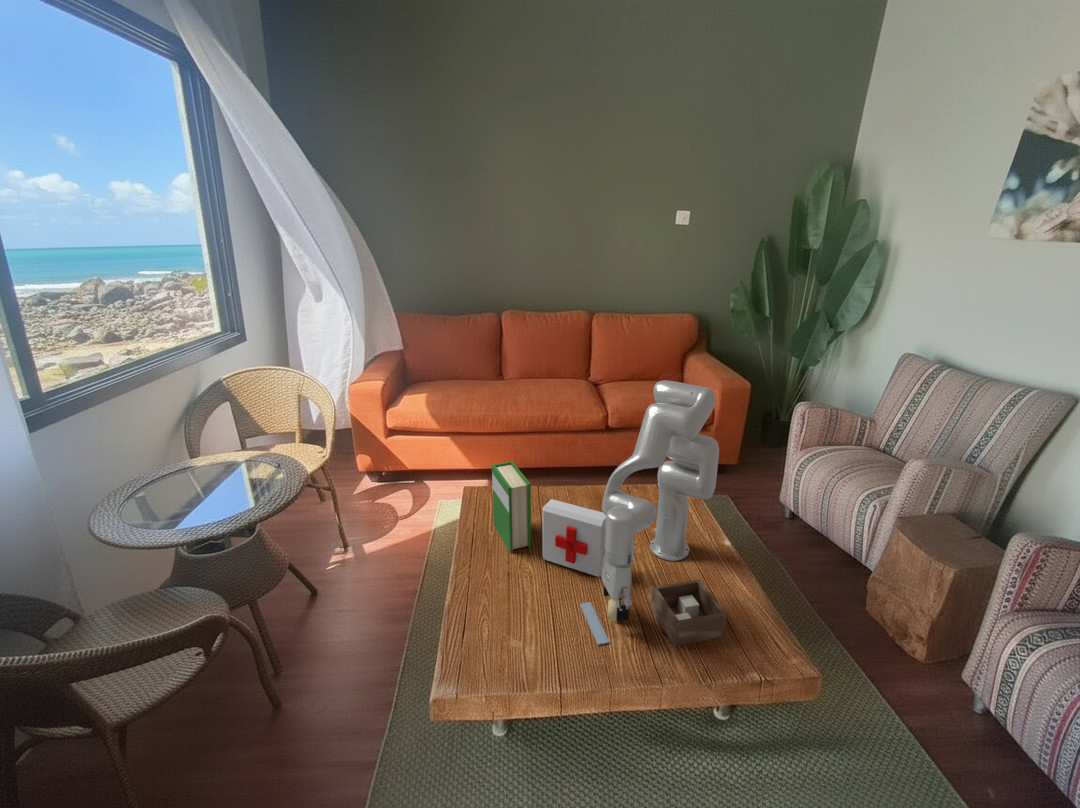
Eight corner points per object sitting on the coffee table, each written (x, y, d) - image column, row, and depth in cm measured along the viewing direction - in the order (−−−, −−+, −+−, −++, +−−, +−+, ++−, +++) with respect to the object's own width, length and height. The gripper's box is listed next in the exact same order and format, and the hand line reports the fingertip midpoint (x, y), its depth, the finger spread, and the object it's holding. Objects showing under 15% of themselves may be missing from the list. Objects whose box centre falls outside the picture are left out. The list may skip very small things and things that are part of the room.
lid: (580, 607, 145) (580, 589, 143) (629, 598, 148) (630, 581, 146) (597, 647, 131) (598, 628, 129) (651, 637, 134) (653, 618, 132)
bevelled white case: (538, 563, 163) (538, 508, 156) (550, 549, 170) (550, 496, 163) (600, 583, 154) (603, 525, 147) (610, 568, 160) (613, 512, 154)
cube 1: (677, 608, 142) (678, 597, 141) (690, 606, 143) (691, 594, 142) (684, 619, 138) (685, 607, 137) (697, 616, 139) (699, 604, 138)
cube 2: (672, 627, 136) (673, 615, 134) (686, 624, 136) (687, 612, 135) (679, 638, 132) (681, 626, 131) (693, 635, 133) (695, 623, 131)
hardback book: (531, 547, 171) (530, 483, 163) (510, 553, 168) (508, 488, 160) (513, 521, 186) (512, 461, 178) (494, 525, 183) (491, 464, 175)
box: (650, 610, 143) (652, 587, 140) (696, 602, 146) (699, 579, 143) (674, 649, 130) (676, 623, 127) (723, 639, 133) (727, 614, 130)
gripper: (594, 536, 140) (592, 588, 145) (617, 577, 124) (614, 633, 129) (620, 533, 141) (617, 584, 147) (646, 572, 125) (641, 628, 131)
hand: (615, 607), depth 138 cm, fingers open, 9 cm apart
